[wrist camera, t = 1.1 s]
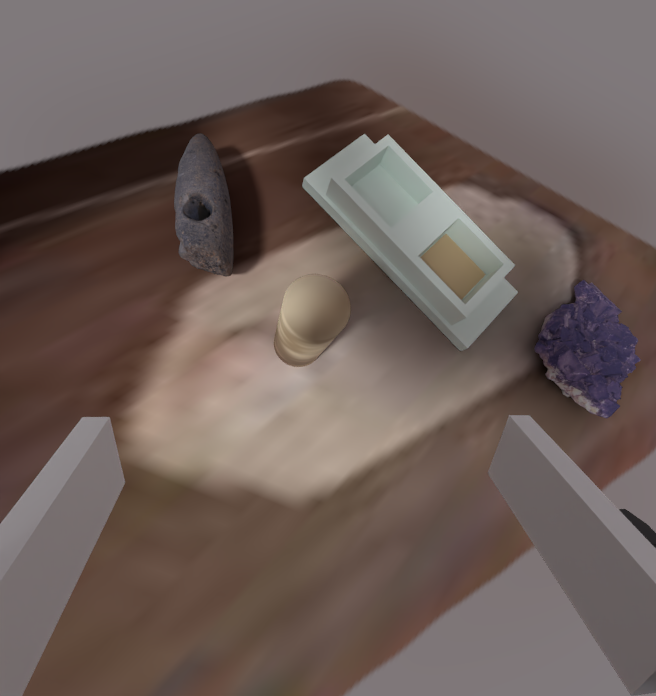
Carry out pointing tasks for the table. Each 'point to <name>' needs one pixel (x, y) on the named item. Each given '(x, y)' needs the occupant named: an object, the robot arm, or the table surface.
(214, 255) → the perforated stone tool
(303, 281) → the birch peg
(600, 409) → the mineral specimen
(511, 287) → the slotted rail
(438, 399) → the table surface
